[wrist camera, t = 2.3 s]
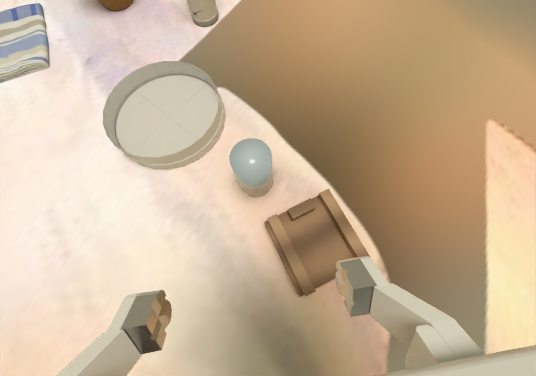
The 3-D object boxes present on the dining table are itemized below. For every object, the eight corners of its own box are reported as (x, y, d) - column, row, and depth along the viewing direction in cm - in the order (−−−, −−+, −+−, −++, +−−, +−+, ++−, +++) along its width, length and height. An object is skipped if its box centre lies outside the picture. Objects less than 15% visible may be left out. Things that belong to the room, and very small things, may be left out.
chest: (363, 258, 36) (376, 258, 31) (298, 293, 35) (301, 298, 30) (325, 195, 39) (332, 186, 35) (265, 225, 38) (263, 219, 33)
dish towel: (-24, 95, 50) (-41, 85, 48) (-21, 27, 58) (-36, 16, 55) (53, 71, 52) (41, 60, 49) (46, 8, 59) (36, -4, 56)
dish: (98, 128, 46) (77, 113, 41) (175, 64, 51) (165, 44, 46) (169, 192, 41) (155, 183, 36) (247, 114, 46) (244, 97, 41)
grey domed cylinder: (278, 188, 40) (278, 165, 31) (248, 202, 40) (239, 183, 30) (264, 161, 42) (260, 132, 33) (235, 174, 41) (223, 148, 32)
